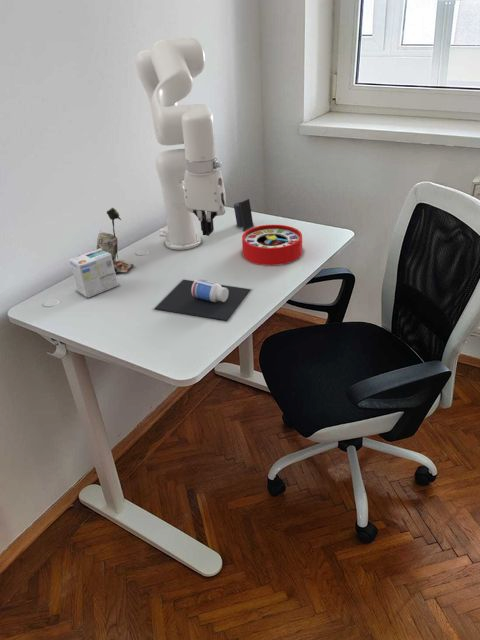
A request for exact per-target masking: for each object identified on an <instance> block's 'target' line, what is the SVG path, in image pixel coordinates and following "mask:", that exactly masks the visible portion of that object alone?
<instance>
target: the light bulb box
mask: <svg viewBox="0 0 480 640" xmlns="http://www.w3.org/2000/svg"><path fill="white" fill-rule="evenodd" d="M68 260H69V265H70V267H71V268H70V269H71V271H72V275H73V279H74V282H75V285H76V289H77V292H79V294H81V295H82V296H84V297H86V299H89V298H91V297H93V296H94V297H95V296H96V295H98V294H101V293H104V292H106V291H108V290H111V289H113V288H115V287H118V286H119V285H118V278H117V274H116V273H115V270H114V265H113V261H112V256H111V254H110V253H108V252H106V251H104V250H102V249H100V248H99V249H97V248H96V249H94V250H92V251H89V252H86V253H83V254H81V255H78V256H75V257H72V258H69V259H68Z"/></svg>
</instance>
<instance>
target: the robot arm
mask: <svg viewBox="0 0 480 640" xmlns="http://www.w3.org/2000/svg"><path fill="white" fill-rule="evenodd" d="M135 67H136V71H137V75H138V77H139V80H140V82H141V84H142V86H143V88H144V90H145V92H146V95H147V97H148V100H149V103H150V104H149V105H150V111H151V117H152V123H153V124H152V125H153V127H154V129H153V130H154V134H155V139H156V140H157V143H158V144H159V145H161V146H178V145H179V146H180V145H183V147H184V148H176V149H168V150H164V151H161V152H160V153H158V154H157V155H156V157H155V162H154V164H155V169H156V172H157V175H158V179H159V183H160V187H161V192H162V198H163V205H164V213H165V219H166V227H167V229H166V228H160V229H159V237H165V241H164V243H165V246H166V247H167V248H168V249H171V250H174V251H175V250H176V251H184V250H185V251H186V250H190V249H193V248H196V247H198V246H199V245H200V244H201V243H202V238H201V236H200V235H199V234H197V231H196V222H195V216H196V217H197V220H198V221H199V222H200V230H201V233H202V236H206V237H209V236H210V235H212V233H213V232H214V231H215V230H214V229H215V226H214V219H215V218H216V217H219V216H223V215H225V214H226V210H225V206H226V205H227V196H226V190H225V184H224V178H223V174H222V171H221V169H219V168H222V162H221V161H219V160H218V158H217V150H216V139H215V125H214V124H215V123H214V115H213V111H212V110H211V109H210V107H209V106H208V105H206V104H205V103H192V104H182V105H181V104H180V105H179V102H180V101H182V100H183V99H185V98H186V97H187V96H188V95H189V94H190V93H191V92H192V89H193V85H194V81H193V80H194V79H195V78H196V77H197V76H199V75H200V74H201V73H202V72H203V71H204V69H205V67H206V53H205V50H204V47H203V44H202V43H201V41H200V40H198V38H196V37H190V36H189V37H174V38H172V37H171V38H163V39H159V40H158V41H156V42H155V43H154V44H153V45H152V46H151V48H148V49H144V50H142V51H140V52H138V53H137V54H136V56H135Z"/></svg>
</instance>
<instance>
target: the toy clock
mask: <svg viewBox="0 0 480 640" xmlns="http://www.w3.org/2000/svg"><path fill="white" fill-rule="evenodd" d="M241 245H242V256H243V258H244V259H245V260H246V261H248V262H250V263H253V264H256V265H260V266H283V265H287V264H290V263H294V262H295V261H297V260H298V259H299V258H301V256H302V255H303V234H302V232H301V231H300V230H299V229H298V228H295V227H293V226H290V225H286V224H285V225H284V224H262V225H258V226H254V227H252V228H250V229H247V230H245V231H244V232H243V234H242V235H241Z"/></svg>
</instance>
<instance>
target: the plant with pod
mask: <svg viewBox="0 0 480 640" xmlns="http://www.w3.org/2000/svg"><path fill="white" fill-rule="evenodd" d="M106 214H107V216H108V218H109V219H110V220H111V222H112V223H111V224H112V233H113V234H112V233H107V232H104V231H100V232H99V233H98V236H97V240H96V250H97V249H99V248H100V249H102V250H104V251H106V252H108V253H110V254H111V256H112V261H113V265H114V270H115V274H116V273H127V272H128V271H129V269H131V268H132V267H133V266H134V264H133V263H126V262H125V261H124V260H119V255H118V247H119V246H118V237H117V236H116V233H115V220H117V219H118V220H120V221H122V218H121V217H120V213H119V212H118V211H117V209H116V208H114V207H111V208H109V209H108V210H106Z"/></svg>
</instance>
